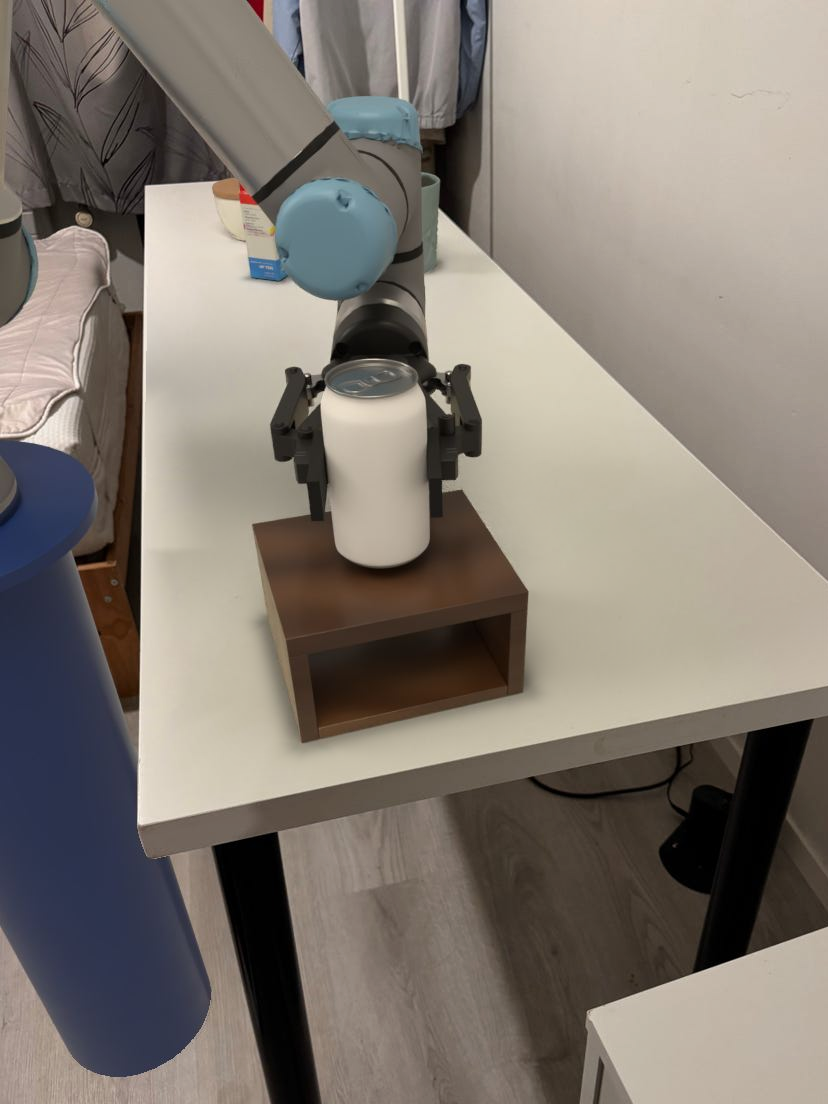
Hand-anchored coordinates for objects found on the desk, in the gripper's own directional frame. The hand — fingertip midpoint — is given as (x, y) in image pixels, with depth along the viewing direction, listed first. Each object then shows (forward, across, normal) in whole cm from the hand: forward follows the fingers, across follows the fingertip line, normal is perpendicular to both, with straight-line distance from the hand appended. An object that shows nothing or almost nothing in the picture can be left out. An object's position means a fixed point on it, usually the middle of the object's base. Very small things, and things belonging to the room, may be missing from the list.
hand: (376, 499), depth 55 cm
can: (-5, 0, -7) cm, 8 cm away
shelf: (-5, 0, -16) cm, 17 cm away
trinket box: (-113, +23, -17) cm, 116 cm away
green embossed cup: (-97, -2, -17) cm, 98 cm away
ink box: (-95, +17, -17) cm, 98 cm away
